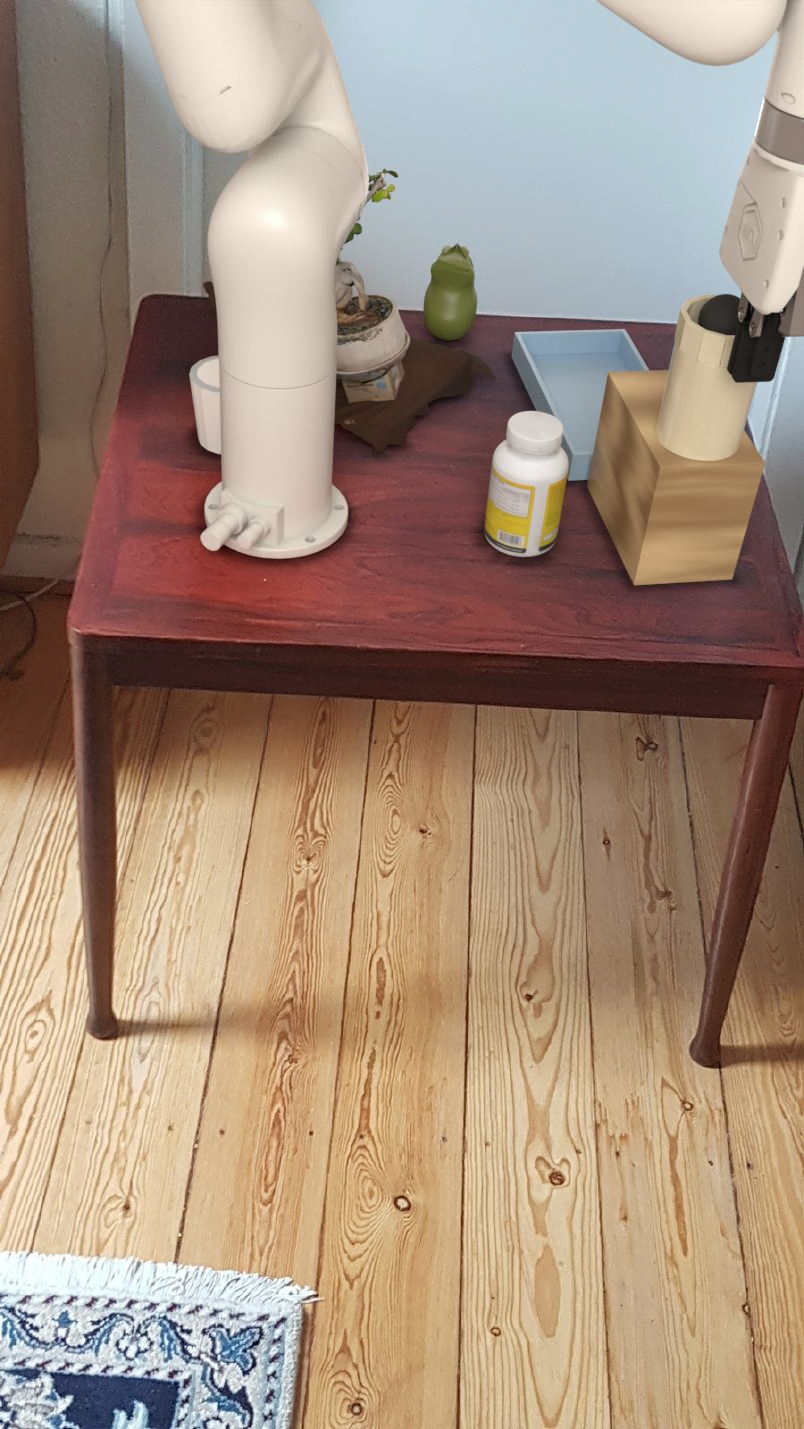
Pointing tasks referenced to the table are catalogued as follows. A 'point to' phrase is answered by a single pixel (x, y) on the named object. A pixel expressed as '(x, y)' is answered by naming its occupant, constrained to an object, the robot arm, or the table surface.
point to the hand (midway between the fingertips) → (749, 376)
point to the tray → (573, 381)
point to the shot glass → (207, 402)
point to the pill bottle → (527, 486)
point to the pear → (451, 295)
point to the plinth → (667, 490)
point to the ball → (720, 314)
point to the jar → (702, 392)
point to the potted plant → (385, 356)
